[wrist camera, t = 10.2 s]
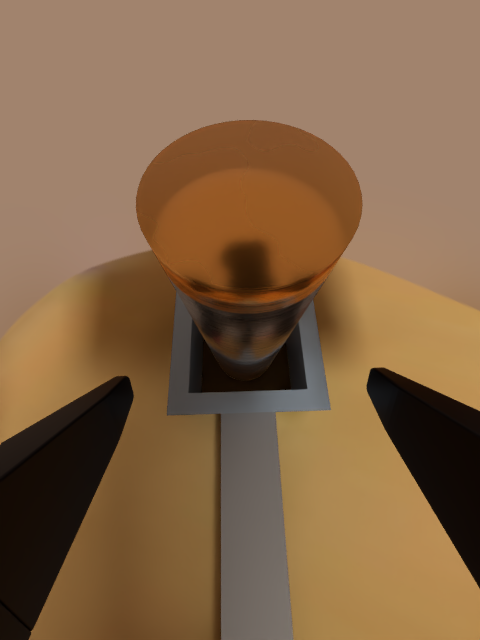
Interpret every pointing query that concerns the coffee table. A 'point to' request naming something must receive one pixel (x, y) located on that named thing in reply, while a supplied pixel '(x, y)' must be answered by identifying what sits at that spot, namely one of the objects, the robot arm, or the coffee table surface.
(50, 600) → the coffee table surface
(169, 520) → the coffee table surface
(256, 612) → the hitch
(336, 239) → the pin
